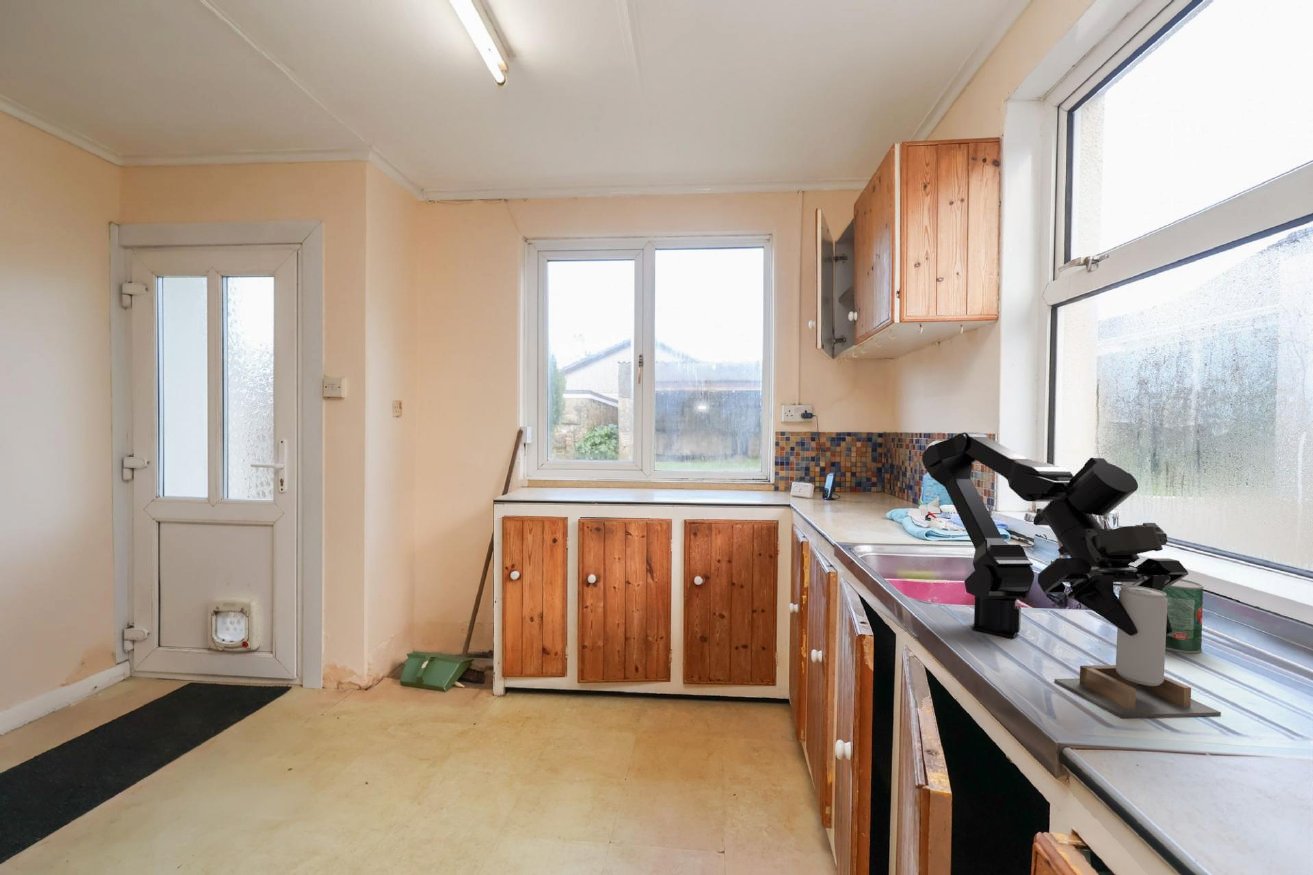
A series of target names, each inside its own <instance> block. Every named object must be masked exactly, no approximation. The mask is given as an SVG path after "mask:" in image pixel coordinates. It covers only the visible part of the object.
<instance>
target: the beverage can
mask: <svg viewBox="0 0 1313 875" xmlns="http://www.w3.org/2000/svg"><path fill="white" fill-rule="evenodd" d="M1165 596H1166V593H1164V592H1162V591H1159V590H1156V589H1151V588H1147V587H1141V586H1132V585H1123V584H1122V585H1121V586H1120V589H1119V591H1118V599H1119V601H1120V602H1121V604H1122V605H1123V607H1124V609H1125V610H1126V612H1127V613H1128V615H1129V616H1130V618H1131V620H1132V621H1133V623H1134V625H1135V627H1136V629H1137V631H1138V633H1137V634H1135V635H1133V636H1130V635H1128V634H1127V633H1125V632H1124V631H1122V630H1121V629H1119V628H1118V627H1116V628H1117V630H1116V648H1115V649H1116V650H1115V665H1116V671H1117V673H1118V674H1119V675H1120V676H1121V677H1123V678H1124V679H1126V680H1129V681H1131V682H1135V683H1138V684H1142V685H1148V686H1158V685H1160V684H1161V683H1163V681H1164V676H1165V662H1166V649H1165V644H1166V623H1167V602H1168V600H1167V598H1166V597H1165Z"/></svg>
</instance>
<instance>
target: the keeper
mask: <svg viewBox="0 0 1313 875" xmlns="http://www.w3.org/2000/svg"><path fill="white" fill-rule="evenodd" d="M1053 681H1054V683H1055V684H1057V685H1060V686H1062V687H1064V688H1066V689H1067V690H1069V691H1070V692H1073V693H1075V694H1076V695H1078V696H1079V697H1082V698H1084V699H1086V700H1087V701H1089V702H1091V703H1093V704H1094V705H1096V706H1097V707H1100V706H1101V707H1100V708H1102V709H1104V710H1106V711H1107V710H1108V711H1107V712H1110V713H1111V712H1112V714H1113V715H1115V716H1117V717H1118V716H1119V717H1118V718H1120V719H1141V718H1142V719H1143V718H1144V719H1146V718H1147V719H1148V718H1149V719H1150V718H1151V719H1152V718H1174V717H1175V718H1176V717H1178V718H1179V717H1180V718H1181V717H1182V718H1183V717H1206V716H1208V717H1210V716H1212V717H1213V716H1221V715H1222V712H1221V711H1219V710H1217V709H1214V708H1213V707H1210V706H1208V705H1206V704H1204V703H1201V702H1199V701H1197V700H1194V699H1192V687H1191V686H1189V685H1186V684H1184V683H1181V682H1180V681H1177V680H1174V679H1172V678H1170V677H1167V676H1165V675H1164V681H1163V683H1161V684H1160V685H1158V686H1148V685H1142V684H1138V683H1135V682H1131V681H1129V680H1126V679H1124V678H1123V677H1121V676H1120V675H1119V674H1118V673H1117V671H1116V664H1108V665H1107V664H1100V665H1099V664H1097V665H1096V664H1095V665H1080V666H1079V677H1075V678H1054V680H1053Z"/></svg>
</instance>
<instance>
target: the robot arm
mask: <svg viewBox="0 0 1313 875" xmlns="http://www.w3.org/2000/svg"><path fill="white" fill-rule="evenodd" d="M921 462H922V464H923V467H924V468H925V470H926V472H927V473H928V474H929V476H930V478H932V480H934V481H936V482H937V483H938V484H940V485H941V486H942V487H944V488H945V490H946V492H947V494H948V496H949V498H950V501H951V502H952V505H953V507H954V508H955V511H956V513H957V514H958V517H959V518H960V520H961V523H962V524H963V527H964V528H965V531H966V533H967V535H968V537H969V539H970V541H971V544H972V546H973V547H974V556H973V561H972V566H973V569H974V571H973V572H972V573H971V574H970V575H968V576H967V578H965V580H964V581H963V582H964V587H965V591H966V594H970V595H971V596H974V611H973V613H974V614H973V615H974V616H973V617H974V618H973V623H972V625H971V629H972V630H974V631H980V632H984V633H988V634H992V635H998V636H1002V637H1005V638H1011V639H1014V638H1015V636H1016V635H1017V634H1018V633H1020V631H1021V623H1022V622H1021V621H1022V620H1021V619H1022V618H1021V616H1022V608H1021V606H1019V605H1018V600H1021V599H1022V600H1028V597H1029V593H1030V591H1031V588H1032V586H1033V583H1034V580H1035V573H1034V570H1033V568H1032V566H1033V565H1034V564H1033V562H1032V561H1031V560H1030V559H1029V558H1028V555H1027V554H1026V552H1025V549H1024V547H1023V546H1022V545H1021V544H1019V543H1008V542H1007V541H1005V539H1004V538H1003V537H1002V534H1001V533H1000V530H999V529H998V527H997V525H996V523H995V521H994V520H993V517H992V516H991V514H990V512H989V509H988V508H987V506H986V505H985V503H984V501H983V498H982V497H981V495H980V493H979V491H978V489H977V488H976V485H975V484H974V482H973V480H972V478H971V477H972V476H971V475H972V470H973V464H974V463H975V462H979V463H980V464H982V465H984V466H985V467H987V468H988V469H991V470H992V471H994V472H995V473H996V474H998V475H1000V476H1002V477H1004V478H1005V479H1006V480H1007V483H1008V487H1009V489H1011V491H1013V492H1014V493H1015V494H1016V495H1018V497H1019V498H1021V499H1022V500H1024V501H1025V502H1034V503H1035V502H1038V503H1040V502H1043V503H1044V502H1046V503H1047V505H1046V506H1044V507H1043V508H1037V509H1036V513H1035V516H1034V517H1033V525H1035V526H1049V527H1050V530H1052V532H1053V534H1054V536H1055V537H1056V538H1057V540H1058V541H1059V542H1060V544H1061V546H1060V547H1059V548H1058V549H1057V551H1058V552H1059V554H1060V556H1069V557H1056V559H1054V560H1053V561H1052V562H1050V564H1049V565H1047V566H1046V567H1045V568H1044V569H1043V570H1041V571H1040V572H1039V573H1038V574H1037V583H1038V585H1039V587H1040V589H1041V590H1042V592H1043V593H1044V594H1045V595H1062V594H1063V593H1065V590H1066V585H1065V584H1064V583H1069V585H1070V586H1069V587H1070V589H1071V590H1072V591H1070V592H1069V593H1068V594H1066V596H1067V598H1068V599H1069V600H1074V601H1076V602H1077V603H1079V604H1081V605H1082V606H1084V607H1086V608H1087V609H1089V610H1091V611H1092V612H1094V613H1096V614H1097V615H1099V616H1100V617H1102V618H1103V619H1104V620H1106V621H1108V622H1109V623H1110V624H1112V625H1113V626H1115V627H1116V628H1117V627H1118V628H1119V629H1121V630H1122V631H1124V632H1125V633H1127V634H1128V635H1130V636H1133V635H1135V634H1137V633H1138V631H1137V629H1136V627H1135V625H1134V623H1133V621H1132V620H1131V618H1130V616H1129V615H1128V613H1127V612H1126V610H1125V609H1124V607H1123V605H1122V604H1121V602H1120V601H1119V596H1117V594H1116V593H1115V591H1114V590H1115V589H1114V588H1115V587H1114V583H1120V584H1121V585H1122V586H1123V585H1132V586H1141V587H1147V588H1151V589H1156V590H1159V591H1163V590H1165V589H1166V588H1168V587H1169V586H1171V585H1172V584H1174V583H1176V582H1177V581H1179V580H1180V579H1184V578H1185V577H1187V576H1188V575H1189V571H1188V570H1187V569H1186V568H1185V566H1184V565H1183V564H1182V563H1181V562H1180V561H1179V560H1176V559H1172V558H1163V557H1162V558H1160V557H1158V558H1155V557H1154V558H1147V559H1145V560H1144V561H1143V562H1142V561H1141V563H1140V564H1138V565H1137V566H1136V567H1131V566H1130V565H1129V564H1133V563H1135V562H1137V561H1138V560H1140V557H1139V555H1138V554H1143V553H1148V552H1153V551H1155V552H1159V551H1163V546H1165V545H1166V544H1168V534H1167V533H1166V532H1164V530H1163V528H1161V527H1160V526H1159V525H1157V524H1156V522H1142V524H1135V525H1126V526H1121V527H1117V528H1103V526H1102V525H1101V524H1100V522H1099V521H1098V519H1097V518H1095V516H1100V517H1101V516H1102V517H1103V516H1107V515H1108V514H1110V513H1111V512H1113V510H1115V509H1116V508H1117V507H1118V506H1119V505H1121V504H1122V503H1123V502H1124V501H1125V500H1127V499H1128V498H1129V497H1131V495H1132V494H1134V493H1135V492H1137V490H1138V489H1139V483H1138V481H1137V479H1136V478H1135V477H1134V476H1133V474H1132V473H1129V472H1127V471H1126V470H1124V469H1123V468H1121V467H1119V466H1118V465H1117V466H1116V465H1115V464H1112V463H1109V462H1108V461H1107V460H1106V459H1105V457H1089V459H1088V460H1087V461H1086V462H1085V463H1084V465H1083V466H1082V468H1080V469H1079V471H1077V473H1075V474H1072V472H1071V471H1070V470H1069V469H1067V468H1065V467H1061V466H1059V465H1055V464H1051V463H1050V462H1049V463H1048V462H1042V461H1037V460H1032V459H1029V458H1028V457H1025V456H1024V455H1021V454H1020V453H1017V452H1016V451H1014V450H1012V449H1010V448H1008V447H1006V446H1005V445H1002V444H1001V443H999V442H997V441H995V440H993V439H991V438H989V436H987V435H986V434H985V433H982V432H966V431H965V432H961V433H957V434H956V435H955V436H953V437H951V438H947V439H945V440H942V441H939V442H936V443H935V444H931V445H929V446H928V447H927V448H926V449H925V451H923V453H922V455H921ZM1171 633H1172V628H1171V624H1170V621H1169V617H1168V614H1167V623H1166V635H1169V634H1171Z"/></svg>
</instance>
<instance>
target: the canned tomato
mask: <svg viewBox="0 0 1313 875" xmlns="http://www.w3.org/2000/svg"><path fill="white" fill-rule="evenodd" d="M1203 591H1204V585H1203V584H1201V583H1198V582H1196V581H1192V580H1187V579H1184V578H1182V579H1180V580H1179V581H1177V582H1176V583H1174V584H1172V585H1171V586H1169V587H1168V588H1166V589H1165V590H1163V591H1162V592H1164V593H1166V596H1165V597H1166V598H1167V600H1168V602H1167V614H1168V617H1169V621H1170V624H1171V628H1172V633H1171V634H1169V635H1166V644H1165V651H1166V650H1167V651H1172V652H1175V653H1176V652H1177V653H1184V654H1199V653H1202V652H1203V649H1202V644H1203V643H1202V642H1203V637H1202V636H1203V608H1204V606H1203V604H1204V602H1203V600H1204V592H1203Z"/></svg>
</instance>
